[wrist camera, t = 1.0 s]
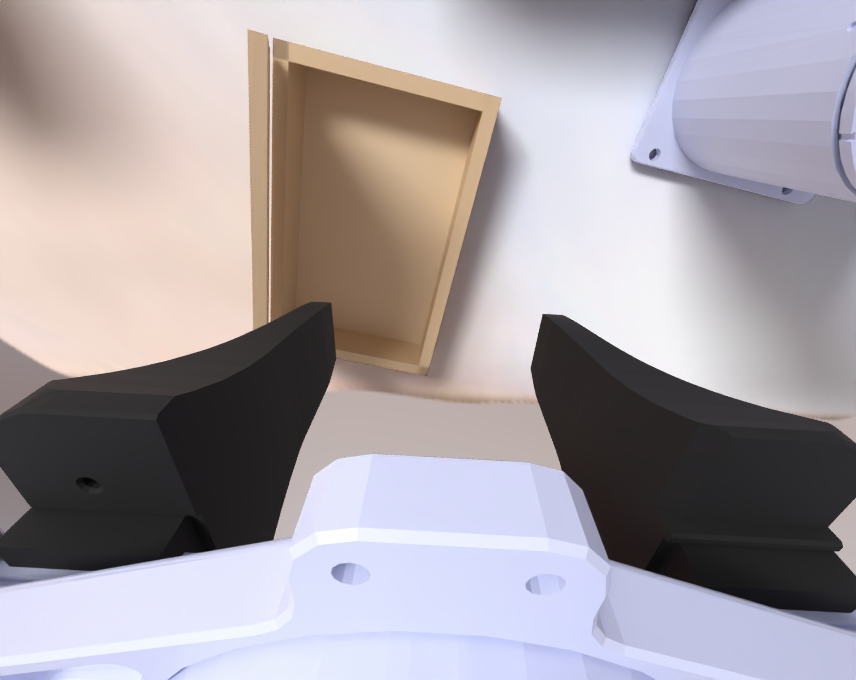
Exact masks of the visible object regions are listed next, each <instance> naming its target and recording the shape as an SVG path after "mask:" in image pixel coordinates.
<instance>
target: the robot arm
mask: <svg viewBox="0 0 856 680" xmlns="http://www.w3.org/2000/svg"><path fill="white" fill-rule="evenodd" d="M653 149H656V151H657V153H656V156H655V157H654V158H653V159H652V160H650V159H649V154H650V152H651V151H652V150H653ZM631 158H632V160H633V161H634V162H636V163H640V164H643V165H647V166H651V167H655V168H659V169H663V170H667V171H671V172H675V173H679V174H683V175H686V176H690V177H694V178H698V179H702V180H706V181H710V182H714V183H718V184H722V185H726V186H729V187H733V188H737V189H741V190H745V191H749V192H753V193H757V194H761V195H765V196H768V197H772V198H776V199H780V200H784V201H788V202H792V203H796V204H804V203H807V202H809V201H810V200H811V199H812V198H813V197H814V196H815V195H816V194H818V195H822V196H827V197H832V198H836V199H841V200H846V201H850V202H855V203H856V0H698V1H697V3H696V5H695V8H694V10H693V12H692V14H691V17H690V19H689V21H688V23H687V26H686V28H685V30H684V32H683V35H682V37H681V39H680V42H679V44H678V46H677V48H676V51H675V53H674V55H673V57H672V60H671V62H670V64H669V66H668V69H667V71H666V73H665V75H664V78H663V80H662V82H661V84H660V87H659V89H658V91H657V93H656V96H655V98H654V100H653V103H652V105H651V107H650V109H649V112H648V114H647V116H646V118H645V121H644V123H643V125H642V127H641V130H640V132H639V134H638V136H637V139H636V141H635V143H634V145H633V148H632V151H631ZM783 187H785V188H787V189H786V190H785V191H784V192H783V193H782V189H783ZM335 361H336V348H335V337H334V326H333V315H332V305H331V303H330V302H309V303H307V304H304V305H302V306H300V307H298V308H296V309H294V310H292V311H290V312H289V313H287V314H285V315H283V316H281V317H279V318H277V319H275V320H273V321H271V322H270V323H268V324H266V325H263V326H261V327H259V328H257V329H255V330H253V331H251V332H249V333H246V334H244V335H242V336H240V337H238V338H235V339H233V340H230V341H228V342H225V343H223V344H220V345H217V346H214V347H212V348H209V349H206V350H203V351H199V352H196V353H193V354H189V355H186V356H182V357H179V358H175V359H172V360H168V361H164V362H160V363H155V364H151V365H147V366H142V367H137V368H132V369H127V370H122V371H116V372H111V373H104V374H97V375H90V376H83V377H76V378H69V379H62V380H53V381H50V382H49V383H47V384H45V385H44V386H42V387H41V388H39V389H38V390H36V391H35V392H33V393H32V394H31V395H29V396H28V397H26V398H25V399H23V400H22V401H20V402H19V403H18V404H16V405H14V406H13V407H12V408H10V409H9V410H7V411H6V412H4V413H3V414H1V415H0V467H1V468H2V470H3V471H4V472H5V473H6V475H7V476H8V477H9V479H10V480H11V481H12V483H13V484H14V486H15V487H16V488H17V489H18V491H19V492H20V493H21V495H22V496H23V497H24V499H25V500H26V501H27V503H28V504H29V505H30V506H31V507H32V508H31V509H30V510H29V511H27V513H25V514H24V515H23V516H22V517H21V518H20V519H19V520H18V521H17V522H16V523H15V524H14V525H13V526H12V527H11V528H10V529H9V530H8V531H7V532H6V533H4V532H3V531H2V529H1V528H0V680H856V576H855V575H854V574H853V572H852V571H851V570H850V569H849V568H848V567H847V566H846V565H845V563H844V562H843V561H842V560H841V559H840V558H839V557H838V556H837V554H836V553H835V552H834V551H840V550H841V549H842V548H843V545H842V542H841V540H840V539H839V538H838V537H837V536H836V535H835V534H834V533H833V532H832V531H831V530H830V529H829V528H828V526H829V525H830V524H831V523H832V522H833V521H834V520H835V519H836V518H837V517H838V516H839V515H840V514H841V512H843V510H844V509H845V508H846V507H847V506H848V505H849V504H850V503H851V502H852V501H853V500H854V499H855V498H856V443H855V442H853V441H852V440H851V439H850V438H848V437H847V436H846V435H845V434H843V433H842V432H841V431H840V430H838V429H837V428H836V427H834V426H833V425H831V424H829V423H827V422H822V421H818V420H814V419H810V418H806V417H802V416H797V415H793V414H789V413H785V412H781V411H777V410H772V409H768V408H765V407H761V406H758V405H754V404H751V403H748V402H744V401H741V400H738V399H734V398H731V397H728V396H725V395H722V394H719V393H716V392H713V391H710V390H708V389H705V388H702V387H699V386H697V385H694V384H691V383H689V382H686V381H684V380H681V379H679V378H676V377H674V376H672V375H669V374H667V373H665V372H663V371H661V370H659V369H656V368H654V367H652V366H650V365H648V364H646V363H644V362H642V361H640V360H638V359H636V358H635V357H633V356H631V355H629V354H627V353H625V352H624V351H622V350H620V349H618V348H617V347H615V346H613V345H612V344H610V343H608V342H607V341H605V340H604V339H602V338H600V337H599V336H597V335H596V334H594V333H592V332H591V331H589V330H588V329H586V328H585V327H583V326H581V325H580V324H578V323H577V322H575V321H573V320H571V319H570V318H568V317H566V316H563V315H551V314H543V315H542V320H541V324H540V329H539V333H538V338H537V342H536V347H535V351H534V356H533V360H532V365H531V373H532V378H533V384H534V389H535V393H536V397H537V400H538V402H539V405H540V408H541V411H542V414H543V416H544V419H545V422H546V424H547V427H548V430H549V433H550V435H551V438H552V441H553V444H554V446H555V449H556V452H557V455H558V458H559V461H560V465H561V469H562V471H560V470H556V469H552V468H548V467H544V466H540V465H536V464H533V463H529V462H517V461H497V460H480V459H462V458H443V457H425V456H424V457H423V456H407V455H389V454H368V455H361V456H353V457H346V458H340V459H337V460H335V461H334V462H332V463H331V464H330V465H328V466H327V467H325V468H324V469H323V470H321V471H320V472H318V473H317V474H315V475H314V478H313V481H312V483H311V487H310V489H309V492H308V495H307V498H306V501H305V504H304V506H303V509H302V512H301V515H300V518H299V521H298V523H297V526H296V529H295V532H294V535H293V537H289V538H285V539H278V540H273V539H274V535H275V531H276V528H277V524H278V520H279V517H280V513H281V509H282V506H283V502H284V499H285V495H286V492H287V489H288V486H289V482H290V478H291V476H292V472H293V469H294V466H295V463H296V460H297V457H298V454H299V451H300V448H301V446H302V443H303V440H304V438H305V435H306V434H307V431H308V429H309V427H310V425H311V422H312V420H313V418H314V416H315V414H316V412H317V409H318V407H319V405H320V403H321V400H322V398H323V396H324V394H325V392H326V390H327V387H328V385H329V383H330V379H331V376H332V372H333V369H334V365H335Z"/></svg>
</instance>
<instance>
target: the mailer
mask: <svg viewBox="0 0 856 680" xmlns="http://www.w3.org/2000/svg"><path fill="white" fill-rule="evenodd" d="M501 99H502V98H500V97H496V96H492V95H488V94H485V93H481V92H477V91H473V90H469V89H466V88H462V87H458V86H454V85H450V84H447V83H443V82H439V81H435V80H431V79H428V78H424V77H420V76H416V75H412V74H409V73H405V72H401V71H397V70H393V69H390V68H386V67H382V66H378V65H374V64H371V63H367V62H363V61H359V60H355V59H352V58H348V57H344V56H340V55H336V54H333V53H329V52H325V51H321V50H317V49H313V48H310V47H306V46H302V45H298V44H294V43H291V42H287V41H283V40H279V39H275V38H273V98H272V214H271V321H273V320H275V319H277V318H279V317H281V316H283V315H285V314H287V313H289V312H290V311H292V310H294V309H296V308H298V307H300V306H302V305H304V304H307V303H309V302H330V303H331V305H332V315H333V326H334V337H335V348H336V358H337V359H342V360H347V361H352V362H357V363H362V364H367V365H373V366H378V367H383V368H388V369H393V370H398V371H403V372H408V373H413V374H419V375H424V376H427V374H428V370H429V366H430V362H431V359H432V355H433V351H434V348H435V344H436V340H437V336H438V333H439V329H440V325H441V322H442V318H443V314H444V310H445V307H446V303H447V299H448V296H449V292H450V288H451V284H452V281H453V277H454V273H455V270H456V266H457V262H458V258H459V255H460V251H461V247H462V244H463V240H464V236H465V232H466V229H467V225H468V221H469V218H470V214H471V210H472V206H473V203H474V199H475V195H476V191H477V188H478V184H479V180H480V177H481V173H482V169H483V165H484V162H485V158H486V154H487V151H488V147H489V143H490V139H491V136H492V132H493V128H494V125H495V121H496V117H497V113H498V110H499V106H500V102H501Z"/></svg>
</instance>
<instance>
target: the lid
mask: <svg viewBox="0 0 856 680" xmlns="http://www.w3.org/2000/svg"><path fill="white" fill-rule="evenodd" d="M248 74H249V129H250V184H251V277H252V329H253V330H255V329H257V328H259V327H261V326H263V325H266V324H268V308H269V124H270V47H269V41H268V36H267V35H266V34H262V33H259V32H255V31H252V30H248Z"/></svg>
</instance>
